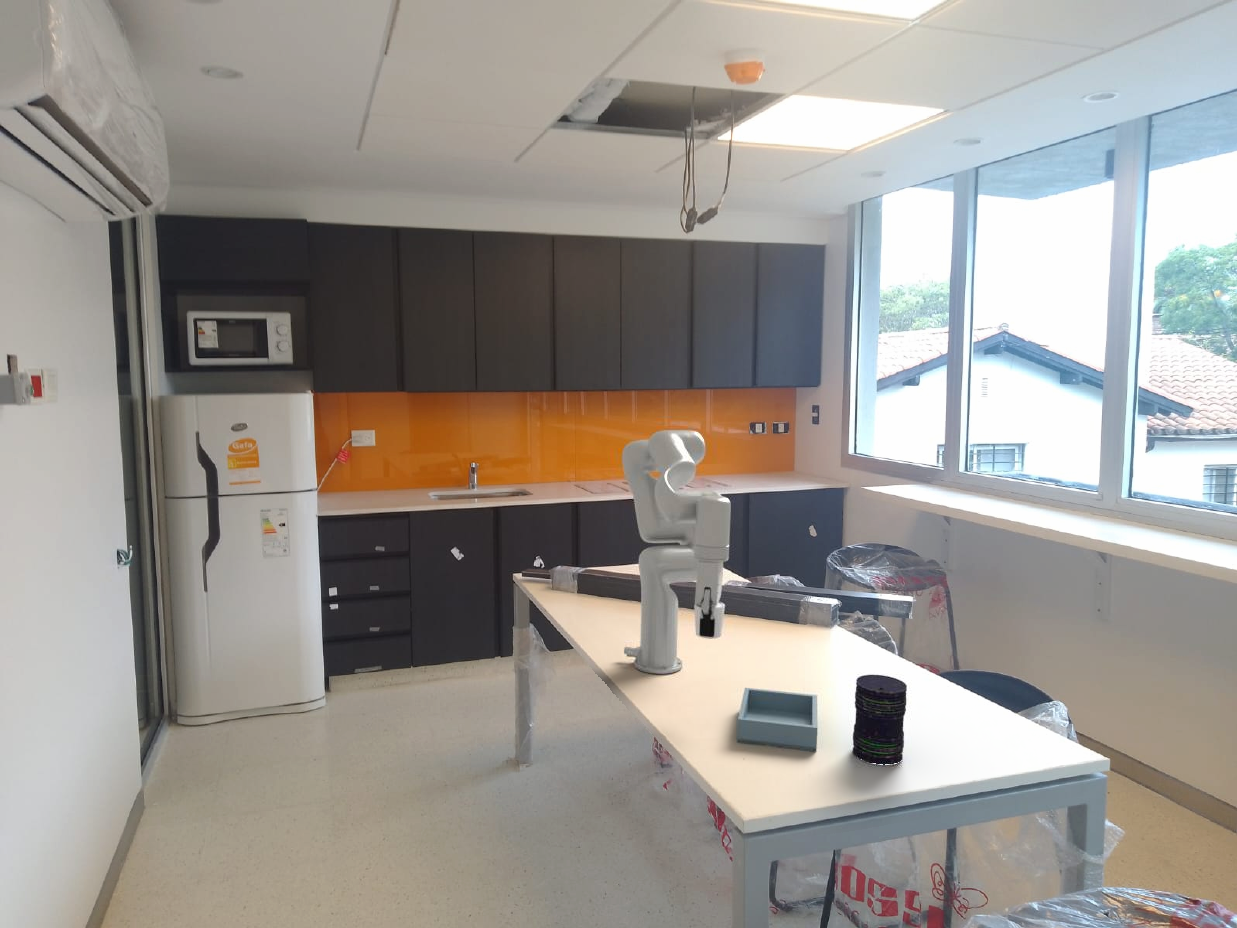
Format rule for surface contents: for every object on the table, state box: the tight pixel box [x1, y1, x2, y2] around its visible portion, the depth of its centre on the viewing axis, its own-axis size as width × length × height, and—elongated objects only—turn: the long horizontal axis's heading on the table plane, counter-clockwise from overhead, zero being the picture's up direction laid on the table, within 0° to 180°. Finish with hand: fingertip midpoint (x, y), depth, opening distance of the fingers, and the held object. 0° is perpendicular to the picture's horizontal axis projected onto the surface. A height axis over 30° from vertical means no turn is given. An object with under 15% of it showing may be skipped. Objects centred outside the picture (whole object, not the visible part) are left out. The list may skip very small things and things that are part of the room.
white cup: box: [694, 601, 726, 640], centre depth 184 cm, size 7×7×7 cm
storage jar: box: [852, 674, 908, 765], centre depth 167 cm, size 10×10×15 cm
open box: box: [736, 687, 818, 752], centre depth 179 cm, size 16×18×5 cm
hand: (708, 630), depth 185 cm, fingers closed on white cup, 5 cm apart
